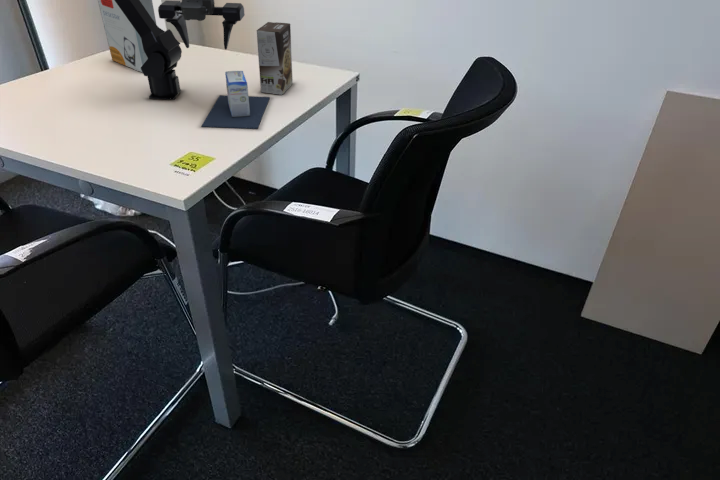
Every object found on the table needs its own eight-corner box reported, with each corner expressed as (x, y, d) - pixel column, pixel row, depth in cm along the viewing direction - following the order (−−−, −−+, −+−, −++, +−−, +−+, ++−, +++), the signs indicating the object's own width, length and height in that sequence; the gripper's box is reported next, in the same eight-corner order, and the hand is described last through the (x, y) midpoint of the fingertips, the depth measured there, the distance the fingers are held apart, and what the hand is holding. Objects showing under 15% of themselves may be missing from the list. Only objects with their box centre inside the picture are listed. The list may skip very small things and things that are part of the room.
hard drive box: (111, 61, 159) (93, -12, 147) (133, 55, 164) (118, -16, 152) (142, 73, 151) (126, -3, 140) (165, 66, 156) (152, -7, 145)
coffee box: (283, 95, 142) (280, 32, 132) (260, 92, 143) (255, 29, 133) (293, 83, 149) (291, 22, 139) (271, 81, 150) (267, 20, 140)
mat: (201, 127, 124) (201, 125, 124) (219, 96, 140) (219, 95, 140) (257, 129, 124) (257, 127, 124) (269, 98, 140) (269, 97, 140)
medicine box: (228, 105, 134) (224, 71, 129) (246, 103, 136) (243, 69, 130) (231, 117, 128) (227, 82, 123) (250, 116, 129) (247, 81, 124)
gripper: (143, -17, 114) (157, 57, 123) (231, -14, 114) (239, 60, 124) (160, -27, 123) (172, 43, 132) (241, -24, 123) (247, 46, 133)
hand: (207, 48), depth 130 cm, fingers open, 9 cm apart
